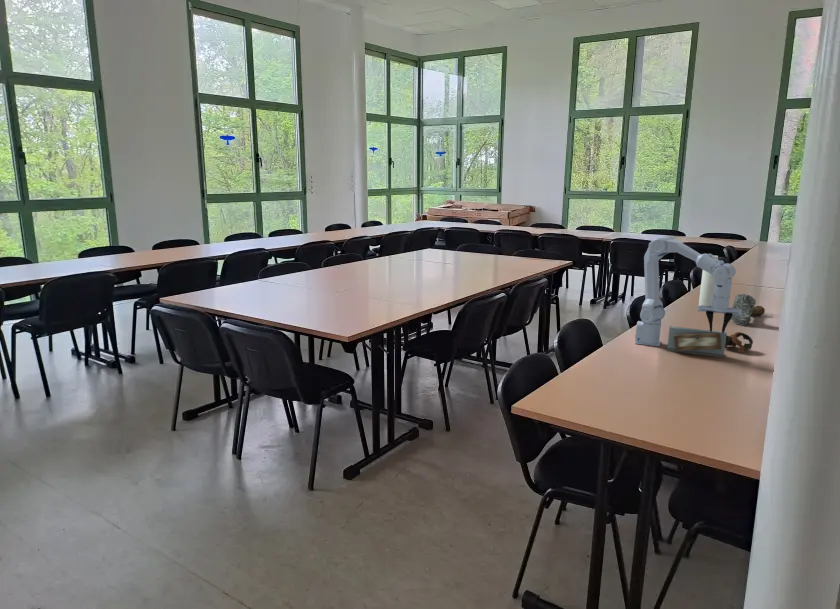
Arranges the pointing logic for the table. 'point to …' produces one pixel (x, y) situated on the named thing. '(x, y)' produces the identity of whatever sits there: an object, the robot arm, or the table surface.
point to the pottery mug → (738, 341)
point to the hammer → (745, 309)
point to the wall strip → (681, 330)
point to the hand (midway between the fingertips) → (716, 331)
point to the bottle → (707, 288)
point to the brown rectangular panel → (697, 341)
